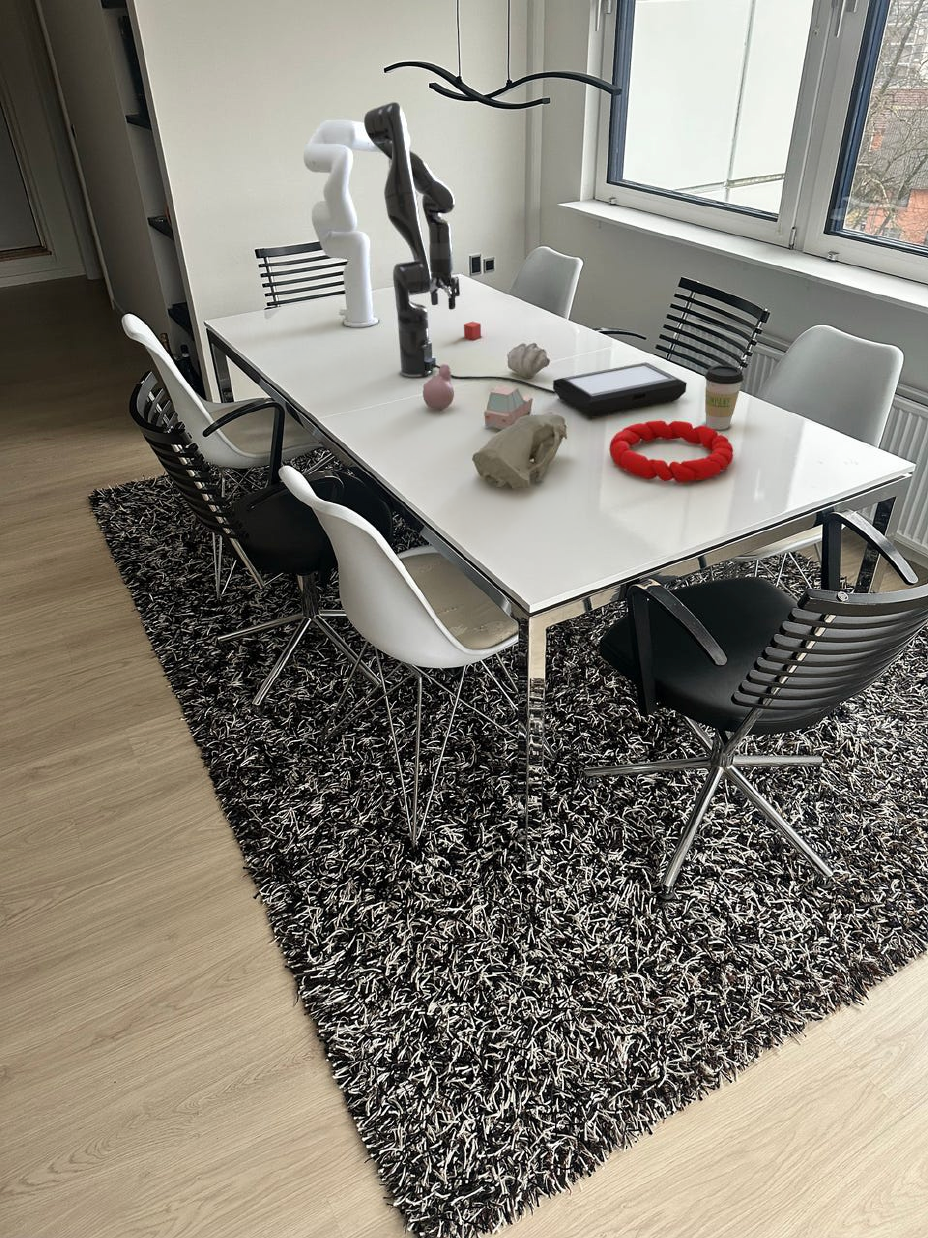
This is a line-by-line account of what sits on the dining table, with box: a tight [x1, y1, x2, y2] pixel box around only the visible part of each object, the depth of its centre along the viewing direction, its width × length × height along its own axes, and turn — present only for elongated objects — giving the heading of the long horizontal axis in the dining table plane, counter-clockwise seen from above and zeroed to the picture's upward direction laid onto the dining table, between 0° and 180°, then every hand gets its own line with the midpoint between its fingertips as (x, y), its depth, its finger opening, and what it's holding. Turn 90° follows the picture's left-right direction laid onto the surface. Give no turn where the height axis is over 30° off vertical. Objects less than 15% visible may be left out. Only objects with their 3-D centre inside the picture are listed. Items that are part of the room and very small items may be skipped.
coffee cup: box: [704, 364, 745, 431], centre depth 235 cm, size 10×10×15 cm
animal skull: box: [471, 411, 568, 490], centre depth 215 cm, size 17×25×20 cm
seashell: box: [506, 342, 551, 379], centre depth 273 cm, size 10×15×10 cm
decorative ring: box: [609, 419, 734, 483], centre depth 221 cm, size 7×30×30 cm
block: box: [463, 321, 482, 341], centre depth 308 cm, size 4×4×5 cm
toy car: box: [483, 385, 534, 430], centre depth 242 cm, size 9×15×10 cm, turn 149°
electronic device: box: [552, 362, 688, 419], centre depth 255 cm, size 32×6×20 cm
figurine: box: [422, 363, 455, 411], centre depth 252 cm, size 9×11×12 cm
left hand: (402, 215), depth 337 cm, fingers open, 9 cm apart
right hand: (443, 306), depth 299 cm, fingers open, 8 cm apart
